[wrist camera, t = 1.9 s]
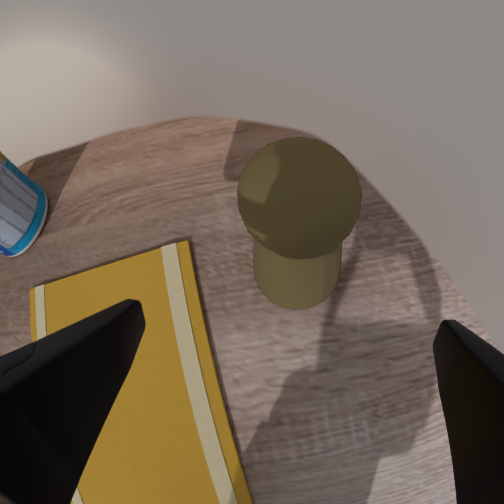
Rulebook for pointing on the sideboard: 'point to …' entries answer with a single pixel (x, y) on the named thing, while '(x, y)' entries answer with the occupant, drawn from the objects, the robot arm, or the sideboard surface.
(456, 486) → the robot arm
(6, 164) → the blue plastic jar
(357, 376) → the sideboard surface
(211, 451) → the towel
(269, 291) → the cork
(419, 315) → the sideboard surface
